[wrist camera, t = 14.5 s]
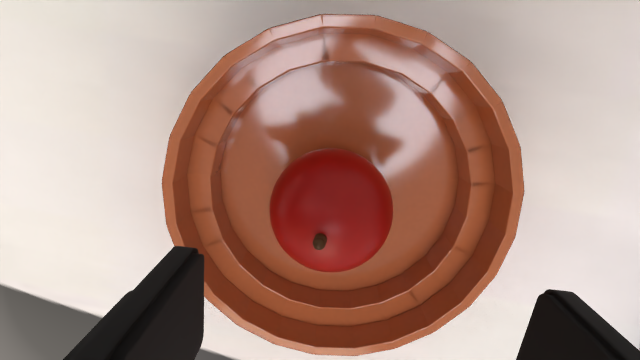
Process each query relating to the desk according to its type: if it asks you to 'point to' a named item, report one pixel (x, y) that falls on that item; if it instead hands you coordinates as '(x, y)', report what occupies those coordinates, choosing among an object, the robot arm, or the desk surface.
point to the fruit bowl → (365, 140)
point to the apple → (331, 210)
